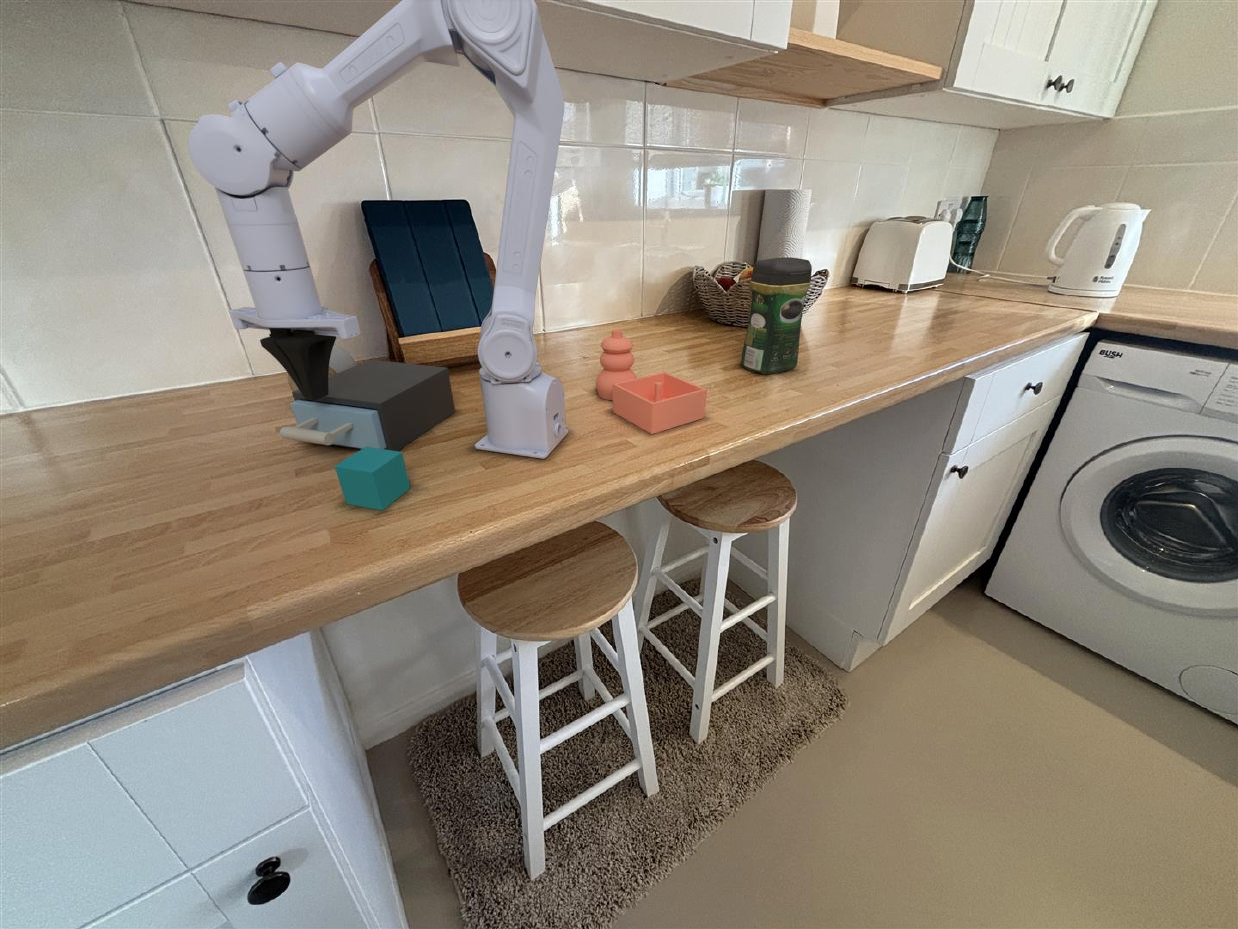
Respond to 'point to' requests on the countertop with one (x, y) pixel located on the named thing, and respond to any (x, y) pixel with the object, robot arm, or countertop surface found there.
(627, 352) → the pink peg stacking toy
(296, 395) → the dark grey drawer cabinet
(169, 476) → the countertop surface
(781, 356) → the coffee jar
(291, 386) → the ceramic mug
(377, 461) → the teal toy cube
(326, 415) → the drawer
